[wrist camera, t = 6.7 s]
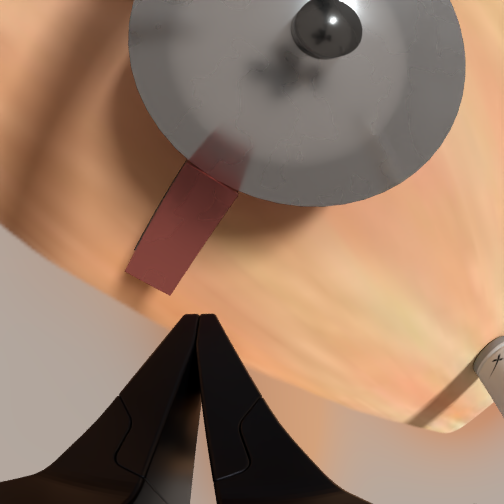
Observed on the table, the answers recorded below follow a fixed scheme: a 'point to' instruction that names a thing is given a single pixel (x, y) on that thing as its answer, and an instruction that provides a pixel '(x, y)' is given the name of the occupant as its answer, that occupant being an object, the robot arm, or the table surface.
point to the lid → (287, 105)
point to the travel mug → (492, 370)
